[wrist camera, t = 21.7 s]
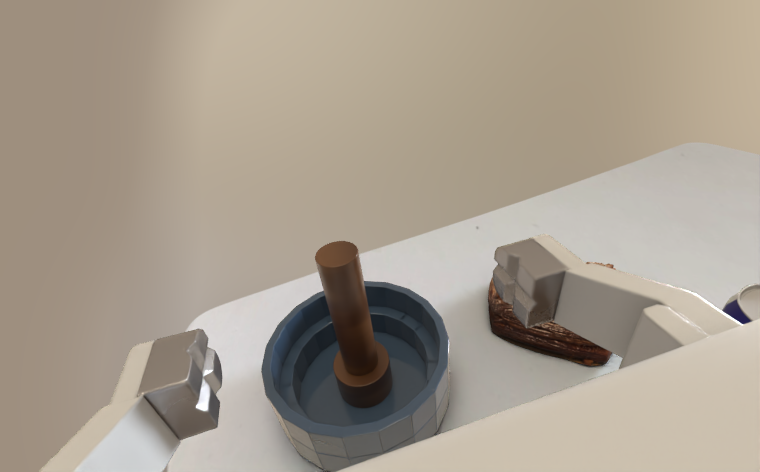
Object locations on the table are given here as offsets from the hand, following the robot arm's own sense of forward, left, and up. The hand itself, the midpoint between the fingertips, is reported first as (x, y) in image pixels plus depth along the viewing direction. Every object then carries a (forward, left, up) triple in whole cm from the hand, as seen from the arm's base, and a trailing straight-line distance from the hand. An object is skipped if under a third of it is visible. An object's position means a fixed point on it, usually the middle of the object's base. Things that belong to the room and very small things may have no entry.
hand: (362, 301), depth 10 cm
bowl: (-2, +12, -21) cm, 24 cm away
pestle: (-2, +12, -21) cm, 24 cm away
